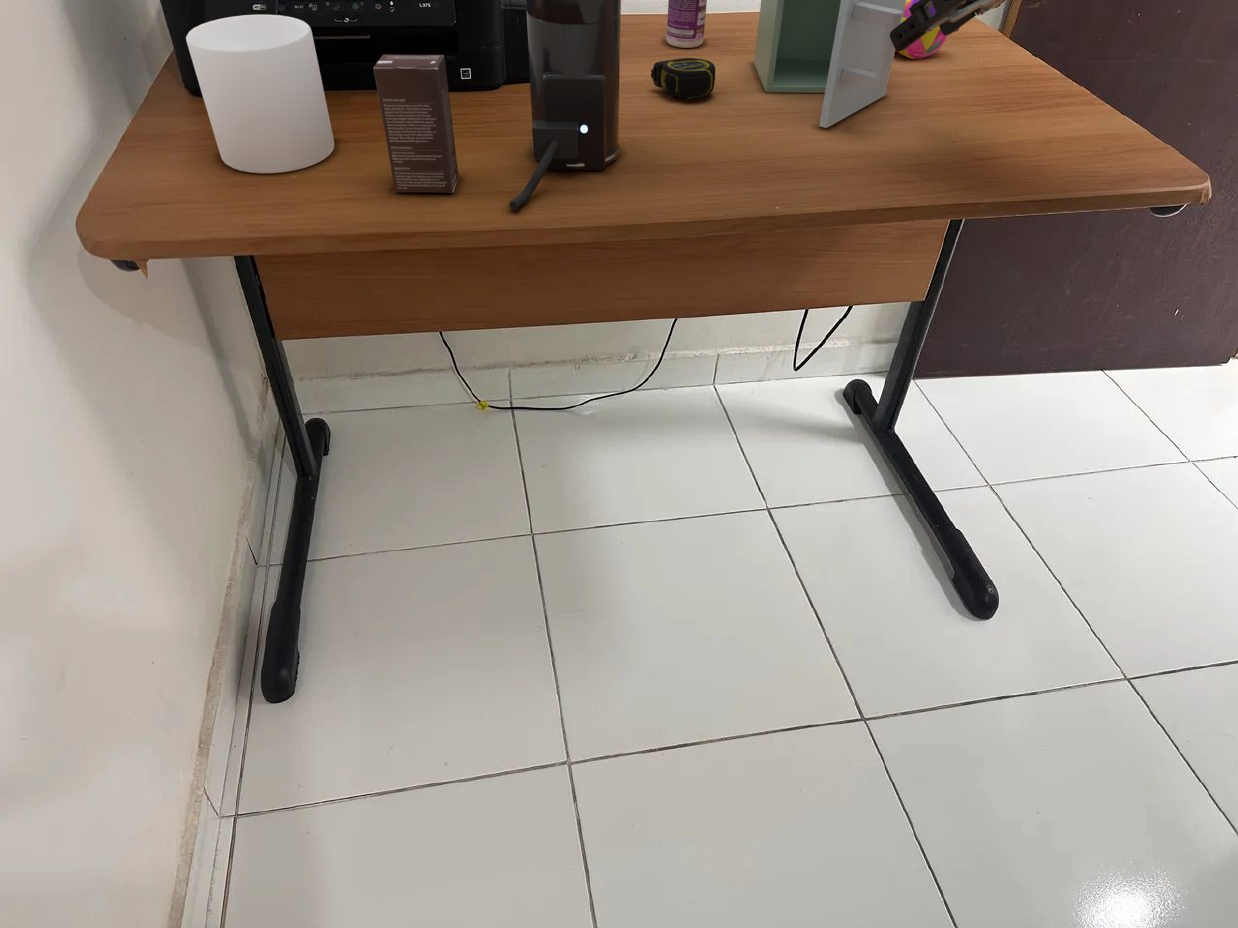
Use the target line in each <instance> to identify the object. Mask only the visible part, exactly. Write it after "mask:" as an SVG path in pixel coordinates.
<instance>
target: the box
mask: <svg viewBox="0 0 1238 928" xmlns="http://www.w3.org/2000/svg"><path fill="white" fill-rule="evenodd" d="M373 74H374V78H375V85H376V89H377V90H376V91H377V96H378V101H379V107H380V113H381V118H382V125H383V129H384V135H385V142H386V147H387V153H388V159H389V164H390V170H391V177H392V183H393V189H394V191H395V193H445V194H447V193H448V194H453V193H454V192H455V189H456V186H457V183H458V180H459V177H460V176H459V175H460V174H459V168H458V160H457V150H456V144H455V143H456V142H455V135H454V123H453V116H452V115H453V114H452V107H451V100H450V92H449V82H448V75H447V66H446V58H445V55H444V54H383V55H381V57H380V58H379V59H378V61H377V62H376V64H375V65H374V66H373Z"/></svg>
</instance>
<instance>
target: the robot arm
mask: <svg viewBox="0 0 1238 928" xmlns="http://www.w3.org/2000/svg"><path fill="white" fill-rule="evenodd" d="M1006 1H1007V0H919V1H918V2H916V3H914V4H913V5H912V7H910V8H909V10H910V12H911V14H912V15H911V16H910V17H909V18H907V19H906V20H905V21H903V22H902V23H901V24H900V25H898V26H897V27H896V28H895V29H893V30H892V31H891V32H890V39H891V41H892V43H893V45H894V47H895V49H896V51H902V50H905V49H906V48H907V47H909V46H910V45H911V44H913V43H914V42H915V41H917V40H918V39H919V38H921V37H922V36H923V35H925V34H926V33H927V32H931V31H932V30H934V28H936V27H937V26H939V27H940V29H941V31H942V34H943V35H948V36H949V35H952V34H953V33H955V32H954V31H956V30H957V29H958V28H959V29H960V28H961V27H963V26H964V25H965V24H967V23H968V22H969V21H971V20H972V19H974V18H975V17H976V16H977V17H978V16H980V15H981V16H982V15H984V14H986V13H987V12H989V11H991V10H993V9H997V8H999V7H1000V6H1001V5H1002V4H1003V3H1004V2H1006ZM525 2H526V3H525V4H526V5H525V6H526V27H527V50H528V51H527V52H528V68H529V90H530V113H531V127H532V128H531V133H532V136H531V137H532V145H531V149H532V157H533V159H534V160H536V161H538V162H539V163H538V165H537V166H536V168H535V170H534V171H533V173H532V175H531V177H530V179H529V180H528V182H527V184H526V186H525V187H524V188H523V190H522V191H521V193H519V194H518V195H517V196H516V197H514V198H513V199H511V201H510V202H509V203H508V207H509V208H510V210H512V211H517V210H518V209H519V208H521V207H522V206H524V204H526V202H528V200H529V199H530V198H531V196H532V195H533V193H534V192H535V190H536V189H537V187H538V185H539V184H540V181H541V180H542V178H543V177H544V175H545V174H546V172H547V171H605V170H606V166H607V165H610V164H612V163H613V162H615V161H616V160H617V159H618V157H619V155H620V143H619V134H620V133H619V129H620V128H619V125H620V66H621V65H620V64H621V22H622V21H621V19H622V18H621V17H622V13H621V11H622V0H525ZM931 6H934V8H935V10H936V13H935V15H933V16H932V13H931V11H930V9H929V8H930V7H931ZM956 32H957V31H956ZM896 51H895V52H896Z"/></svg>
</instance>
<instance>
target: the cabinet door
mask: <svg viewBox="0 0 1238 928" xmlns="http://www.w3.org/2000/svg"><path fill="white" fill-rule="evenodd" d="M905 3H906V0H841V4H840V10H839V16H838V21H837V27H836V33H835V39H834V44H833V50H832V56H831V61H830V67H829V73H828V79H827V84H826V90H825V93H824V96H823V102H822V106H821V107H822V108H821V113H820V120H819V125H818V127H821V128H824V129H828V128H830V127H831V126H833V125H835V124H836V123H838V122H840V121H842V120H843V119H846V118H848V117H849V116H852V115H853V114H855V113H856V112H858V111H860V110H862V109H863V108H865V107H867V106H869V105H871V104H872V103H874V102H876V101H878V100H880V99H882V98H883V97H885V96H886V93H887V89H888V83H889V79H890V75H891V70H892V66H893V61H894V57H895V53H896V51H895V47H894V45H893V43H892V41H891V39H890V32H891V31H892V30H893V29H895V28H896V27H897V26H898V25H900V24H901V21H902V17H903V12H904V8H905Z"/></svg>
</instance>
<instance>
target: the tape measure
mask: <svg viewBox="0 0 1238 928" xmlns="http://www.w3.org/2000/svg"><path fill="white" fill-rule="evenodd" d="M650 78H651V79H652V81H653V84H654V85H653V86H655V87H656V88H659V89H660V88H661V89H662V90H663V91H664V93H666V94H667V95H670V96H673V97H677V98H687V99H688V100H691V99H697V98H701V97H703V96H707V95H709V94H711V93H712V92H713V90H714V89H715V84H716V66H715V64H714V63H713V62H711V61H710V60H707V59H703V58H696V57H681V58H673V59H668V60H661V61H660V60H659V61H657V62H655V63H654V64H653V67H652V68H650Z"/></svg>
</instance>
